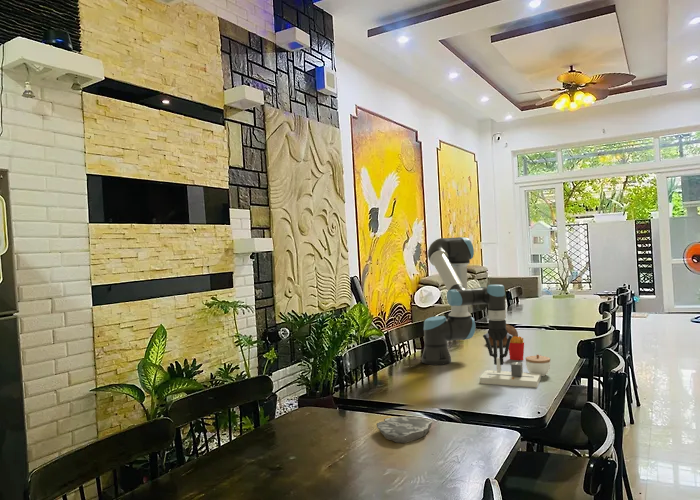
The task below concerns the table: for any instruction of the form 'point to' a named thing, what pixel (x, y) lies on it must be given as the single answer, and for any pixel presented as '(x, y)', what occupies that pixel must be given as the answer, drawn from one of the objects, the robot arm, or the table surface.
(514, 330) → the bread
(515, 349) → the french fries
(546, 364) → the lidded jar
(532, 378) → the console
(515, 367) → the fader tab
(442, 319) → the robot arm
